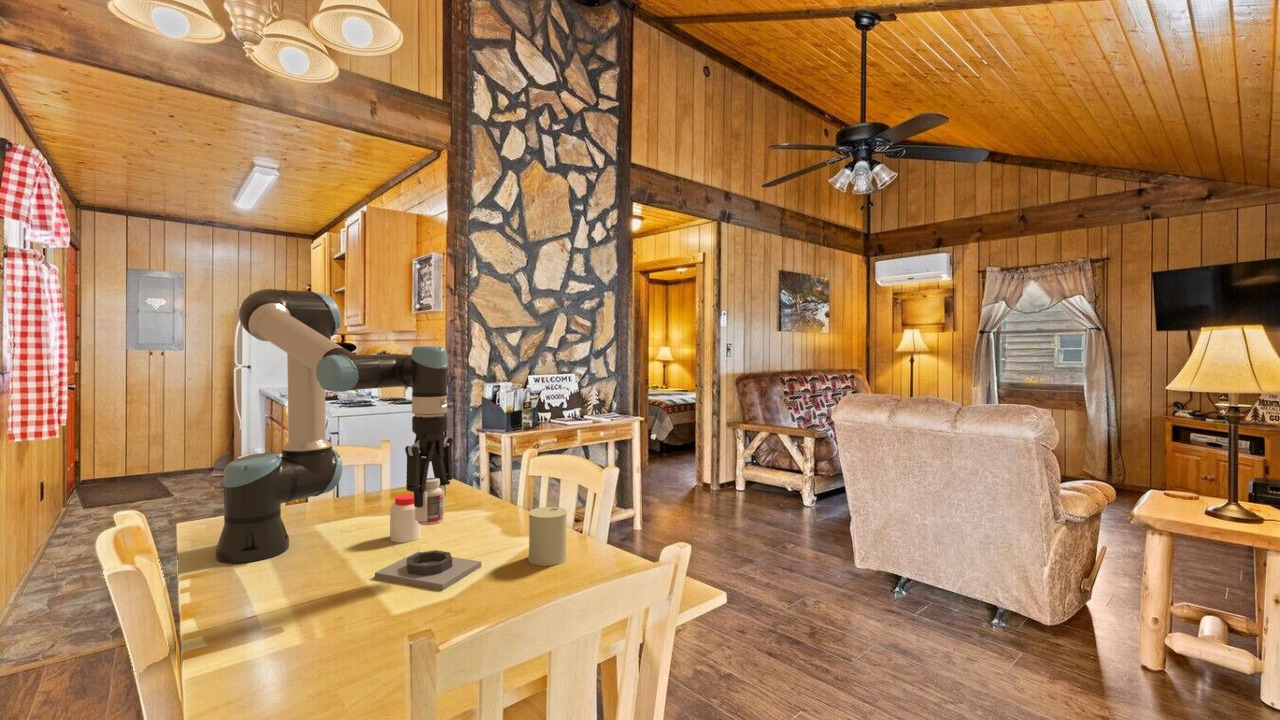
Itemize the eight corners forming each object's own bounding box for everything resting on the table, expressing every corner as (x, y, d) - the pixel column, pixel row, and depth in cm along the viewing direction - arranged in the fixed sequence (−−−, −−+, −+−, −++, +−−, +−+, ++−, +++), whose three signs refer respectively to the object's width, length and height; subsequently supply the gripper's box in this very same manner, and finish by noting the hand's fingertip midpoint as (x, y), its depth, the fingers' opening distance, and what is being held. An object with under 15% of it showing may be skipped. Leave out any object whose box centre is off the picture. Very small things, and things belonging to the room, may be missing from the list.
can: (573, 555, 147) (574, 507, 147) (553, 568, 139) (553, 517, 138) (542, 549, 151) (542, 502, 150) (520, 561, 142) (520, 512, 142)
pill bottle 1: (383, 540, 156) (383, 498, 156) (405, 531, 163) (405, 491, 163) (406, 544, 153) (406, 502, 153) (427, 535, 160) (427, 494, 160)
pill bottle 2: (445, 523, 134) (445, 480, 134) (421, 527, 131) (421, 483, 131) (439, 517, 139) (439, 475, 138) (415, 521, 136) (415, 478, 135)
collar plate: (374, 577, 132) (374, 563, 132) (417, 556, 145) (417, 543, 145) (443, 590, 126) (443, 575, 126) (481, 566, 139) (481, 553, 139)
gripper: (415, 420, 124) (416, 530, 125) (468, 411, 142) (468, 507, 142) (386, 418, 127) (387, 527, 127) (442, 409, 144) (442, 504, 145)
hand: (430, 516), depth 135 cm, fingers closed on pill bottle 2, 5 cm apart
